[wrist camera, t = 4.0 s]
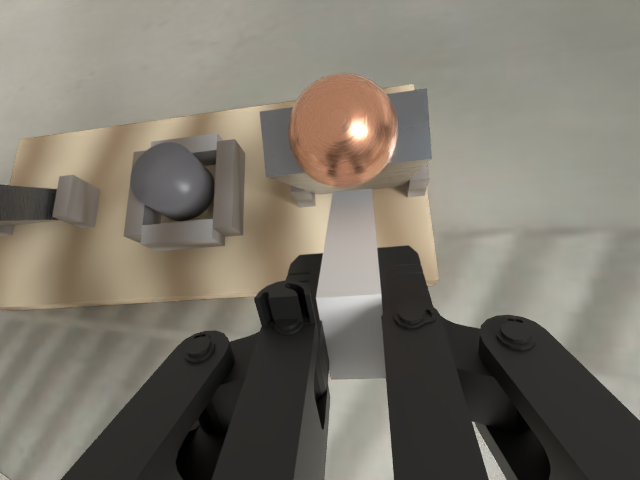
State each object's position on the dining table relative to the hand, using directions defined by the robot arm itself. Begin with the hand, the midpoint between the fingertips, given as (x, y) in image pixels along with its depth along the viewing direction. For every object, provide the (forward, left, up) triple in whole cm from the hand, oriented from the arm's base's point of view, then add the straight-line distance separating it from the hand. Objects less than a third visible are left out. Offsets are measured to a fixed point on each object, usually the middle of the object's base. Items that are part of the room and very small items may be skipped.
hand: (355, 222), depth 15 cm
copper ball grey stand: (-2, -5, -6) cm, 8 cm away
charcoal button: (+9, -9, -6) cm, 14 cm away
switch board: (+9, -9, -9) cm, 15 cm away
